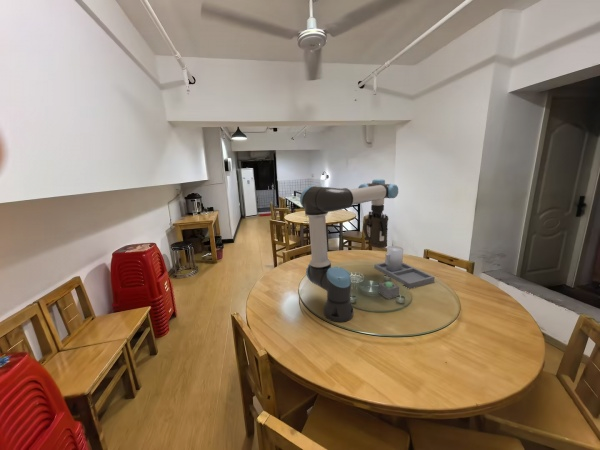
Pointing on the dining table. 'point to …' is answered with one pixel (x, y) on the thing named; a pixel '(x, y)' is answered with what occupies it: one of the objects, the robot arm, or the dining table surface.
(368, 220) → the beer stein
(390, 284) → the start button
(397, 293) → the grey square hollow block
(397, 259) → the white piece
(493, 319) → the dining table surface
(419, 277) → the tray
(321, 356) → the dining table surface
